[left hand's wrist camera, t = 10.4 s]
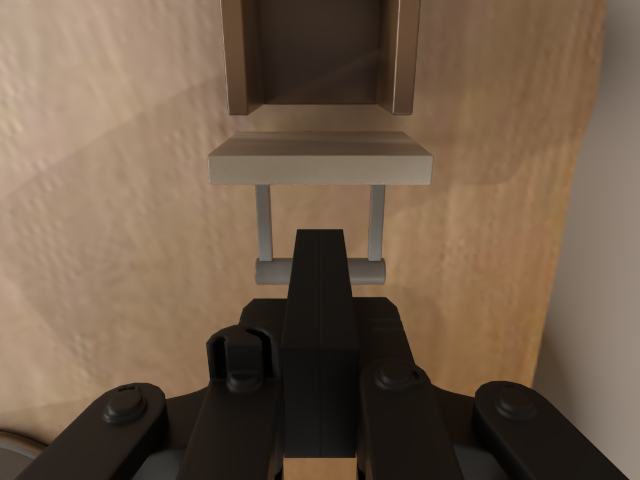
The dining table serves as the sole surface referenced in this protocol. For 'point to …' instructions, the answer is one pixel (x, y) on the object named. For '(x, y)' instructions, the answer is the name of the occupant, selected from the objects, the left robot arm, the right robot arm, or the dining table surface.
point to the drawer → (320, 88)
